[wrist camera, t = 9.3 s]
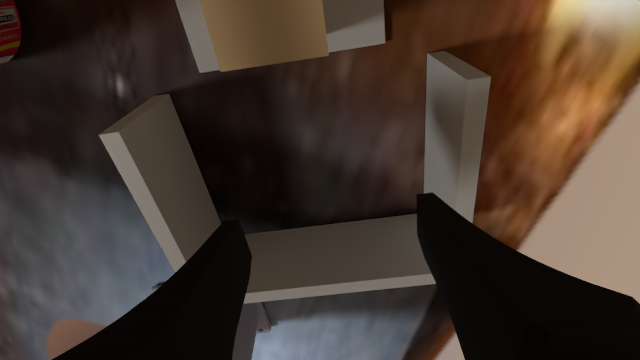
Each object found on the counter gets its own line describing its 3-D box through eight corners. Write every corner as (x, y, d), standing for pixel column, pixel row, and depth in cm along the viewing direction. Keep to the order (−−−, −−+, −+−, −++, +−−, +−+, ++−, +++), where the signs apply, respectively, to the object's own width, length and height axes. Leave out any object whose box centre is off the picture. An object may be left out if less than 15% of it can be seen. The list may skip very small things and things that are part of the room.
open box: (218, 246, 27) (195, 308, 22) (153, 96, 20) (98, 134, 15) (435, 221, 26) (464, 280, 21) (444, 50, 19) (491, 76, 14)
